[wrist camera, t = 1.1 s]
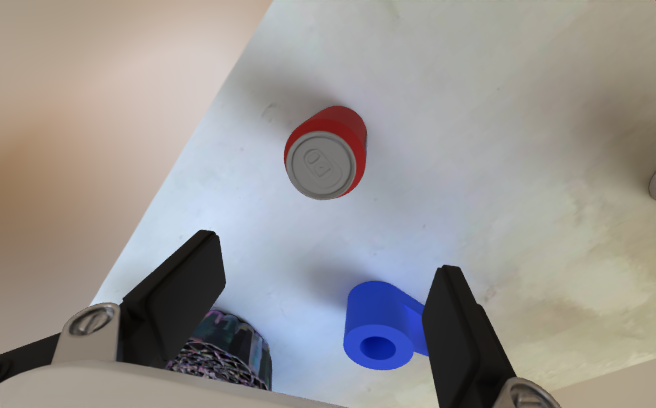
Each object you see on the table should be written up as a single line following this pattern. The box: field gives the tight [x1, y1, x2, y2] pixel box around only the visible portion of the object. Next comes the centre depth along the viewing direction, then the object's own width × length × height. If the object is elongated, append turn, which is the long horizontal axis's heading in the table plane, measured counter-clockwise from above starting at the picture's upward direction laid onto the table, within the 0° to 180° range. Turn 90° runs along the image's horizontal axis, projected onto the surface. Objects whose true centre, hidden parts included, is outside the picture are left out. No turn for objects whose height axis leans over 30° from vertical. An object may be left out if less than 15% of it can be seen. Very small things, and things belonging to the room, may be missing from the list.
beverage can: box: [284, 106, 367, 200], centre depth 25 cm, size 7×7×12 cm
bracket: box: [343, 281, 429, 370], centre depth 38 cm, size 20×9×8 cm, turn 64°
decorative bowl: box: [149, 310, 272, 392], centre depth 48 cm, size 26×28×10 cm
